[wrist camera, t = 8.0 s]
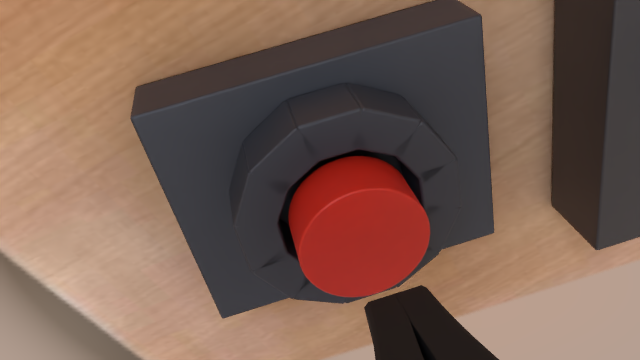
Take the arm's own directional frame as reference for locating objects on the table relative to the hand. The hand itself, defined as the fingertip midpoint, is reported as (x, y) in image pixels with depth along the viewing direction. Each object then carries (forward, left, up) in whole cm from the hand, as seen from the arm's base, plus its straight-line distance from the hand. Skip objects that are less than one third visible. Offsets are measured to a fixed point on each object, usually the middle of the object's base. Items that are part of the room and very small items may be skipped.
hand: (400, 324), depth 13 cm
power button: (0, 0, -5) cm, 5 cm away
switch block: (0, 0, -8) cm, 8 cm away
